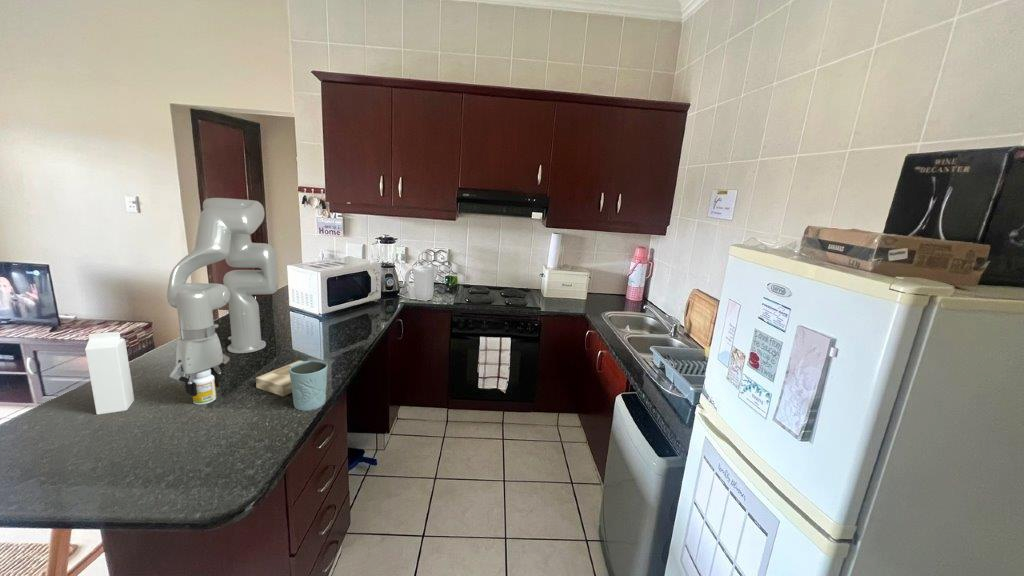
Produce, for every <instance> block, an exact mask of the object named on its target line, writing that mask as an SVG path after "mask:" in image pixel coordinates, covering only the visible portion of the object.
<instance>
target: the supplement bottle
mask: <svg viewBox="0 0 1024 576" xmlns="http://www.w3.org/2000/svg"><path fill="white" fill-rule="evenodd" d="M193 382H194V383H196V390H197V395H196V396H192V401H193V404H195V405H198V406H200V405H207V404H210V403H213V402H214V401H216V399H217V392H216V391H217V390H216V388H217V387H215V378H214V376H213V375H211V369H210V368H209V369H206V370H203V371H200V372H197V373H195V377H194V381H193Z"/></svg>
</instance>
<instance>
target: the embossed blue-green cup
mask: <svg viewBox="0 0 1024 576" xmlns="http://www.w3.org/2000/svg"><path fill="white" fill-rule="evenodd" d="M328 366H329V365H328V363H327V362H325V361H323V360H316V359H315V360H304V362H300V363H297V364H295V365H293V366H291V367H290V368H289V373H290V379H291V387H292V393H291V395H292V400H293V401H292V402H293V407H294V408H295V409H296V410H297V409H298V410H297V411H300V410H302V411H301V412H308V411H313V409H314V410H317V409H319V408H321V407H323V406H322V405H325V404H326V401H327V400H326V398H327V394H326V393H327V385H328V384H327V380H328V379H327V377H328V375H327V374H328Z"/></svg>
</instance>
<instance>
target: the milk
mask: <svg viewBox="0 0 1024 576" xmlns="http://www.w3.org/2000/svg"><path fill="white" fill-rule="evenodd" d="M84 350H85V358H86V361H87V362H86V363H87V367H88V372H89V373H88V374H89V380H90V385H91V390H92V391H91V392H92V396H93V403H94V406H95V413H96V415H103V414H111V413H117V412H124V411H125V412H126V411H127V410H128V409H129V408H130V406H131V405H132V404H133V403H134V401H135V394H134V389H133V388H134V387H133V382H132V376H131V375H132V374H131V369H130V363H129V357H128V351H127V344H126V339H125V338H124V337H121V334H120V332H119V331H113V332H100V333H89V334H88V341H87V344H86V347H85V349H84Z"/></svg>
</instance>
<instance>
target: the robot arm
mask: <svg viewBox="0 0 1024 576" xmlns="http://www.w3.org/2000/svg"><path fill="white" fill-rule="evenodd" d="M202 209H203V210H201V212H200V215H199V220H198V226H197V232H196V237H195V243H194V249H193V250H192V251H191V252H190V253H189V254H186V255H185V256H184V257H182V259H181V260H180V261H179V262H177V264H176V265H175V266H174V267H173V269H172V271H171V272H170V274H169V280H168V283H167V284H168V285H167V290H166V299H167V302H168V305H170V306H171V307H172V308H175V309H176V310H177V316H178V317H177V318H178V327H179V336H180V338H178V339H177V340H176V346H175V352H174V353H175V358H174V360H175V367H174V369H173V370H172V372H171V373H170V374H169V378H171V379H174V380H177V381H180V382H182V383H184V388H185V392H186V394H187V395H189V396H192V397H193V396H196V395H197V390H196V383H194V382H193V381H194V377H195V373H197V372H200V371H203V370H206V369H209V368H210V369H211V375H213V376H214V378H215V388H220V386H221V385H220V384H221V377H220V375H221V373H222V370H223V369H224V368H225V366H226V364H227V363H228V362H229V361H230V357H229V356H228V355H226V354H224V353H223V349H222V345H221V340H220V338H219V335H218V333H217V332H216V329H218V328H219V324H218V323H215V322H214V315H213V311H214V310H217V309H221V308H223V307H224V306H226V305H227V304H228V311H229V321H230V322H229V323H230V333H231V336H228V337H227V339H228V340H229V341H230V342H231V343H230V344H229V345H228V346H227V352H230V353H234V354H249V353H253V352H257V351H260V350H263V349H264V348H265V347H267V343H266V341H265V340H262V333H261V320H260V306H259V303H258V301H257V299H256V298H255V297H254V296H253V295H273V294H275V293H276V292H277V291H278V289H279V275H278V273H279V272H278V265H277V264H278V263H277V257H276V251H275V249H274V247H273V246H272V245H271V244H269V243H266V242H265V243H264V242H263V243H262V242H252V240H251V235H252V234H254V233H255V232H256V231H257V230H258V228H259V227H260V226H261V225H262V223H263V222H264V219H265V208H264V206H263V204H262V203H261V202H260V201H258V200H251V199H242V198H228V197H211V198H205V200H203V203H202ZM223 260H225V262H226V264H227V265H228V266H229V267H231V268H241V269H233V270H230V271H227V272H226V273H225V275H224V276H223V280H222V281H223V284H222V283H212V282H211V283H208V282H207V283H203V282H201V283H200V282H199V283H196V282H195V283H193V282H192V283H189V282H188V283H187V280H188V278H190V276H191V275H192V274H193V273H194V272H196V271H197V270H200V269H201V268H203V267H206V266H209V265H211V264H215V263H218V262H221V261H223ZM243 268H244V269H243ZM181 372H183V375H180V374H181Z"/></svg>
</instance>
